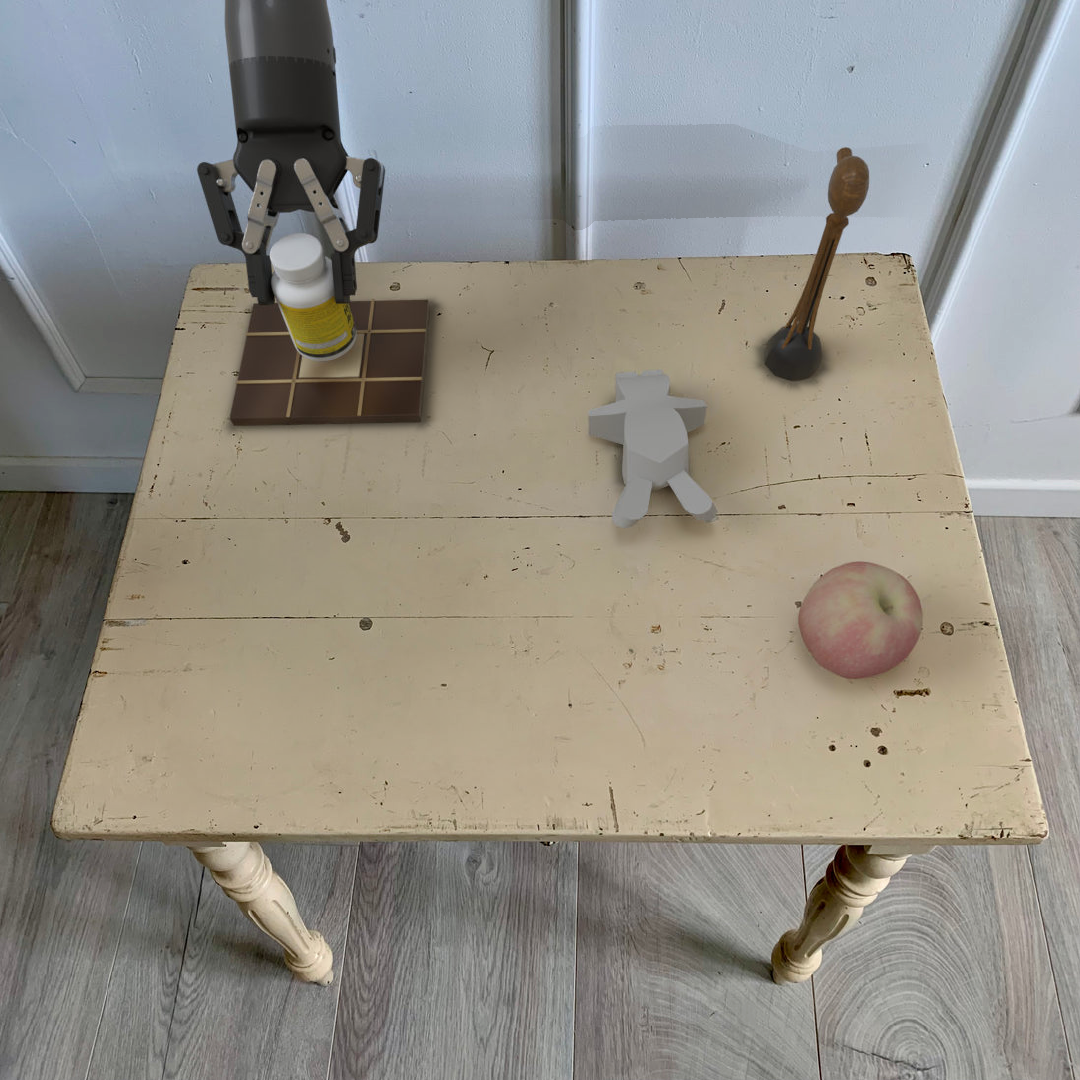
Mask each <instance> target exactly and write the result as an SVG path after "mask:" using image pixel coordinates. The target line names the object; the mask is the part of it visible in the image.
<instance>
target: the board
mask: <svg viewBox="0 0 1080 1080" xmlns="http://www.w3.org/2000/svg"><path fill="white" fill-rule="evenodd" d="M349 307H350V310H351V313H352V317H353V320H354V323H355V327H356V340H355V343H354V345H353V346H352V348H351V349H350V350H349V351H348V352H347V353H345V354H344V355H342V356H341V357H339V358H336V359H334V360H330V361H313V360H310V359H307V358H305V357H304V356H302V355H301V354H300V353H299V352H298V351H297V349H296V348H295V345H294V343H293V341H292V338H291V336H290V333H289V331H288V328H287V326H286V323H285V321H284V318H283V315H282V313H281V310H280V308H279V305H278V303H277V302H275V303H274V305H259V304H258V302H254V303H253V304H252V307H251V308H252V309H251V313H250V317H249V323H248V327H247V332H246V333H245V342H244V347H243V352H242V356H241V360H240V361H241V362H240V366H239V372H238V376H237V380H236V381H235V384H236V386H235V391H234V396H233V400H232V405H231V410H230V414H229V420H230V422H231V424H232V425H233V426H269V425H270V426H272V425H273V426H274V425H277V426H278V425H321V424H323V425H325V424H327V425H329V424H374V423H377V424H378V423H380V424H381V423H382V424H383V423H420V422H421V420H422V408H423V396H424V395H423V393H424V383H425V372H426V371H425V369H426V358H427V357H426V355H427V346H428V333H429V331H428V330H429V318H430V309H431V308H430V301H429V299H428V298H427V299H426V298H425V299H387V300H386V299H385V300H383V299H381V300H375V299H374V298H373V299H371V300H350V303H349Z"/></svg>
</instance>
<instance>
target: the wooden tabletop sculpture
mask: <svg viewBox="0 0 1080 1080" xmlns="http://www.w3.org/2000/svg"><path fill="white" fill-rule="evenodd" d="M869 188H870V170H869V165H868V164H867V163H866V162H865V160H864V159H863V158H861V157H859V156H856V155H853V150H852V149H851V148H850V147H844V146H843V147H841V148H840V149H838V150H837V152H836V165H835V166H834V167H833V170H832V172H831V174H830V178H829V182H828V188H827V201H828V205H829V207H830V209H831V211H832V213H829V214H828V215H827V216H826V217H825V226H824V229H823V232H822V235H821V239H820V241H819V245H818V248H817V251H816V253H815V257H814V260H813V262H812V266H811V269H810V272H809V274H808V277H807V280H806V282H805V285H804V287H803V290H802V292H801V295H800V298H799V299H798V302H797V303H796V307H795V308H794V310H793V313H792V314H791V316H790V318H789V319H788V320H787V322H786V324H785V325H784V326H782V327H780V328H779V329H778V330H777V331H776V332H775V333H774V334H773V335H772V336H771V337H770V338H769V339H768V340H767V343H766V344H765V346H764V350H763V353H764V354H763V355H764V358H763V359H764V361H763V362H764V363H763V364H764V365H765V366H766V368H767V369H768V370H769V371H770V372H771V373H772V374H773V375H774V376H775V377H778V378H781V379H785V380H788V381H791V382H795V381H800V380H805V379H810V378H811V377H812V375H814V373H815V372H816V371H817V370H818V369H819V368H820V365H821V363H822V355H823V353H822V341H821V338H820V337H819V336H818V335H817V333H816V332H815V331H814V330H815V326H816V322H817V321H816V320H817V316H818V311H819V308H820V303H821V299H822V297H823V292H824V289H825V286H826V282H827V280H828V276H829V274H830V269H831V267H832V264H833V261H834V259H835V256H836V252H837V250H838V247H839V244H840V240H841V238H842V235H843V232H844V229H846V228H847V227H848V226H849V224H850V223H849V222H850V221H849V216H852V215H854V214H856V213H857V212H858V211H859V210H860V209H861V207H862V206H863V204H864V202H865V201H866V199H867V195H868V191H869Z"/></svg>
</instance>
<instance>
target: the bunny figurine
mask: <svg viewBox="0 0 1080 1080" xmlns="http://www.w3.org/2000/svg"><path fill="white" fill-rule="evenodd" d="M614 383H615V384H614V385H615V386H614V388H615V402H612V403H608V404H605V405H601V406H598V407H594V408H591V409H588V412H587V413H588V418H587V419H588V421H587V422H588V423H587V424H588V426H587V427H588V428H587V429H588V431H587V432H588V436H591V437H595V438H598V439H602V440H605V441H609V442H612V443H616V444H619V445H622V448H623V449H622V462H621V472H622V480H623V483H624V485H625V486H624V488H623V490H622V492H621V494H620V496H619V498H618V500H617V502H616V504H615V506H614V509H613V510H612V512H611V521H612V523H613V524H614V525H615V526H616V527H618V528H622V529H628V528H632V527H634V526H635V525H637V524H638V523H639V522H640V521H641V520H642V519H643V517H645V515H646V514H648V509H649V504H650V499H651V493H652V490H653V491H659V490H663V489H664V488H666V487H669V486H670V488H671V490H672V491H673V493H674V495H675V496H676V498H677V499H678V501H679V502H680V504H681V506H682V508H683V509H684V510H685V511H686V512H687V513H688V514H690V515H691V516H692V517H693V518H694V519H695V520H697V521H702V522H709V521H712V520H713V519H715V518H716V516H717V513H718V510H717V508H716V504H715V503H714V502H713V500H712V498H711V497H710V496H709V494H708V493H707V492H706V491H705V490H704V489H703V488H702V487H701V486H700V485H699V484H698V483H697V481H695V480H694V479H693V477H691V476H690V462H689V461H690V459H689V457H690V456H689V437H688V433H690V432H692V431H694V430H696V429H699V428H701V427H702V426H704V425H705V421H706V415H707V414H706V413H707V408H708V407H707V404H706V402H705V400H704V399H696V398H689V397H679V396H675V395H674V396H673V395H670V388H671V377H670V376H669V375H668V374H665V373H664V372H663V369H662V368H659V369H649V370H648V369H647V370H642V371H641V373H640V375H639V374H638V372H637V371H624V372H622V371H621V372H615V382H614Z"/></svg>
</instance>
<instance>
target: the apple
mask: <svg viewBox="0 0 1080 1080" xmlns="http://www.w3.org/2000/svg"><path fill="white" fill-rule="evenodd" d="M919 597H920V596H919V595H918V594H917V591H916V589H915V588H914V586H913V585H912V584H911V582H910V581H909V580H908V579H907V578H906V577H905V576H904V575H902V574H900V573H898V572H897V571H895V570H893V569H891V568H889V567H887V566H885V565H881V564H879V563H878V564H877V563H874V562H870V561H861V560H860V561H850V562H847V563H844V564H841V565H839V566H836V567H833V568H831V569H829V570H828V571H826V572H824V574H822V575H821V576H820V577H819V578H818V579H817V580H815V582H813V584H812V585H811V587H810V588H809V589H808V591H807V593H806V595H805V597H804V598H803V600H802V603H801V605H800V608H799V612H798V619H797V624H798V628H799V632H800V635H801V639H802V641H803V643H804V645H805V647H806V649H807V650H808V652H809V653H810V655H811V656H812V657H813V659H814V661H815V662H816V663H817V664H818V665H819V666H820V667H821V668H823V669H825V670H826V671H828V672H830V673H831V674H833V675H836V676H838V677H840V678H843V679H844V678H845V679H850V680H862V679H867V678H872V677H875V676H878V675H882V674H884V673H887V672H888V671H891V670H892V669H894V668H896V667H897V666H899V665H900V664H901V663H902V662H904V661H905V660H906V659H907V658H908V657H909V655H910V654H911V653H912V651H913V649H914V648H915V647H916V645H917V643H918V641H919V638H920V635H921V633H922V628H923V624H924V623H923V622H924V619H923V618H924V616H923V615H924V614H923V609H922V604H921V600H920V598H919Z"/></svg>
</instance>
